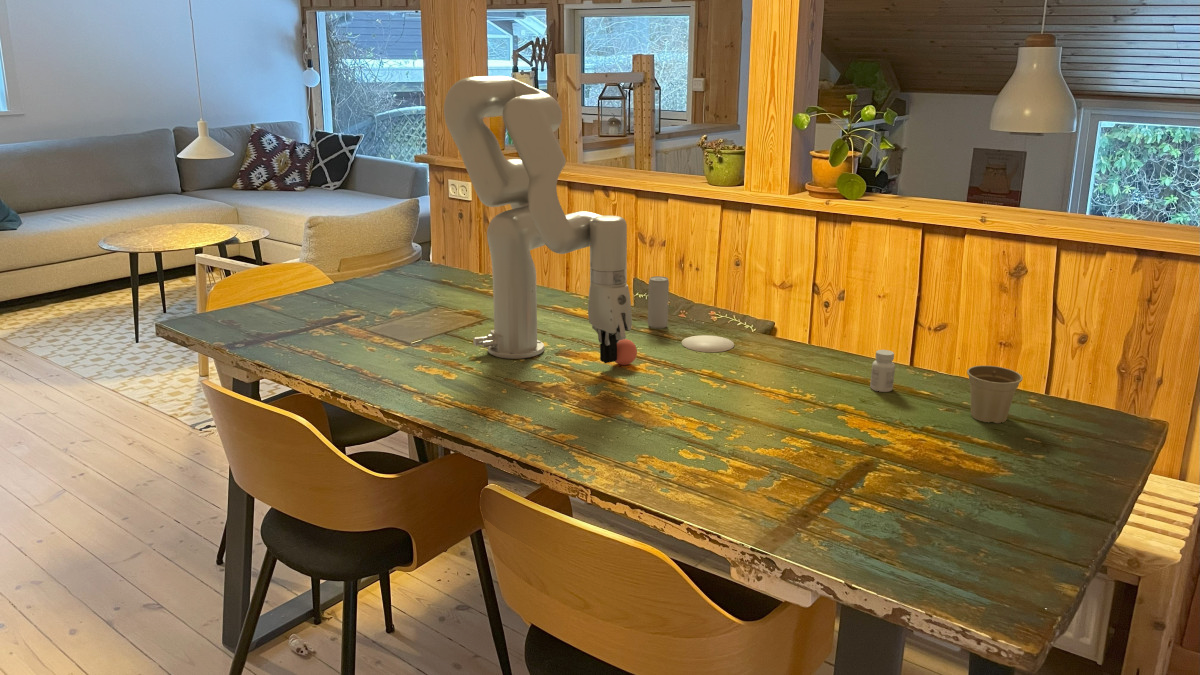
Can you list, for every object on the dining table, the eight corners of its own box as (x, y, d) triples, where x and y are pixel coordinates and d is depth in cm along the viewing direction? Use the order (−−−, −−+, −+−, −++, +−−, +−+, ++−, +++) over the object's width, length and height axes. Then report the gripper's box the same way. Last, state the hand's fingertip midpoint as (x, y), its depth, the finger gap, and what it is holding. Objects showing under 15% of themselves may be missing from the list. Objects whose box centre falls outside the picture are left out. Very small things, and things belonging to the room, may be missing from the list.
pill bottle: (893, 386, 187) (897, 350, 185) (892, 393, 183) (896, 356, 181) (870, 383, 189) (874, 347, 186) (869, 391, 185) (872, 354, 182)
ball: (617, 370, 195) (617, 344, 194) (606, 362, 200) (606, 337, 199) (641, 366, 198) (641, 341, 196) (629, 358, 203) (629, 334, 201)
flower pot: (1011, 431, 166) (1018, 386, 163) (956, 420, 170) (962, 376, 168) (1019, 414, 173) (1026, 371, 171) (967, 404, 178) (972, 362, 175)
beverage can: (668, 329, 224) (669, 281, 220) (648, 329, 224) (649, 280, 220) (667, 323, 228) (668, 276, 225) (647, 323, 228) (648, 276, 225)
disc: (698, 354, 205) (698, 354, 205) (672, 339, 216) (672, 339, 216) (744, 348, 210) (744, 347, 210) (716, 333, 220) (716, 332, 220)
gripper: (644, 281, 186) (643, 367, 192) (603, 267, 198) (603, 349, 204) (614, 286, 182) (614, 374, 188) (573, 272, 194) (574, 355, 200)
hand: (608, 360), depth 196 cm, fingers closed
